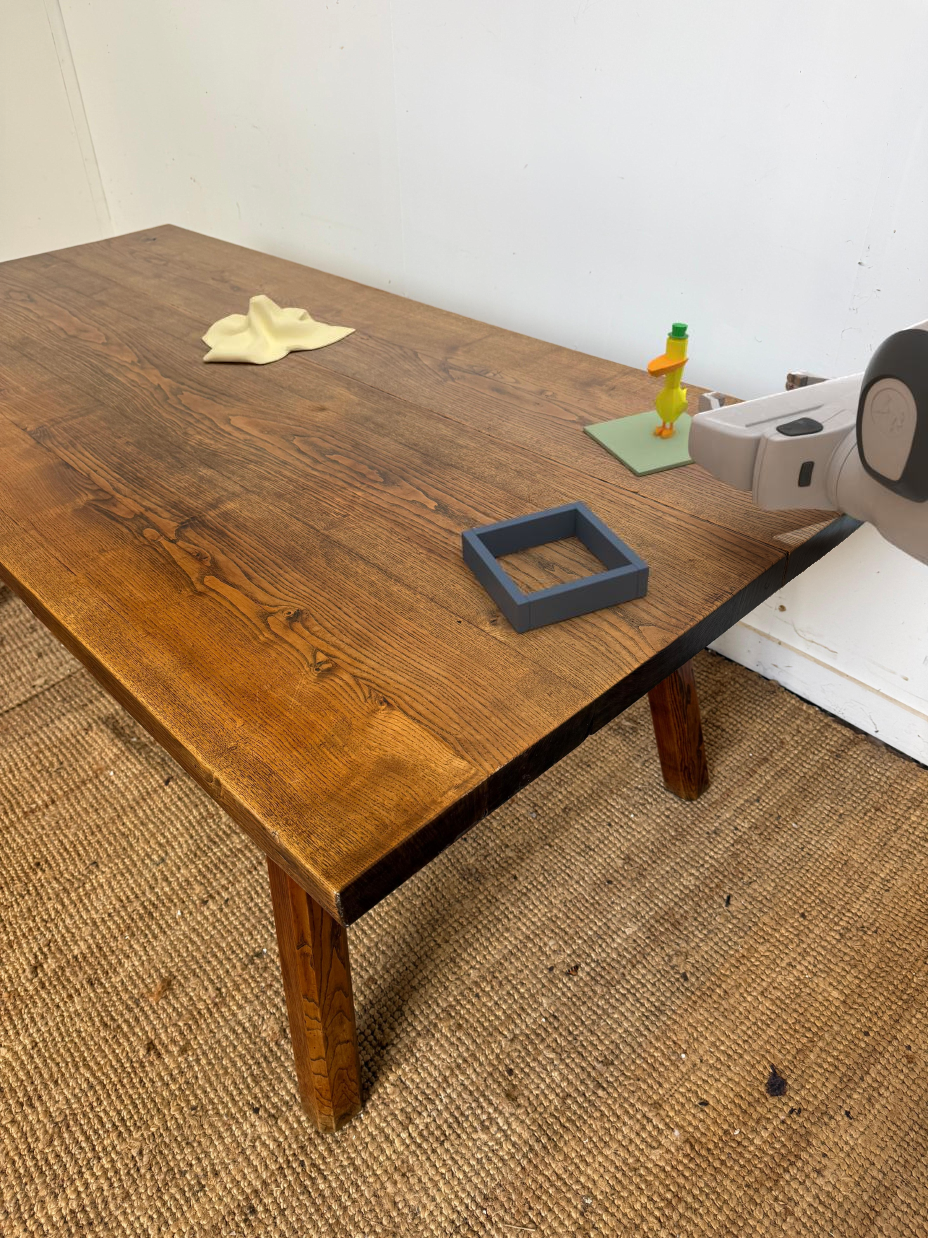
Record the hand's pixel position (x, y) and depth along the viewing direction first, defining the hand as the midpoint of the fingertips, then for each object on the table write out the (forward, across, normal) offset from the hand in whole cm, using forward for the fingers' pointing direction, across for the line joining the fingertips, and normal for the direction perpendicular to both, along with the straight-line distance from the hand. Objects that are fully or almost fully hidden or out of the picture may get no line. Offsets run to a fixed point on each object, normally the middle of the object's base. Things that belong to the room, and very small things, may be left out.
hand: (749, 389), depth 80 cm
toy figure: (+14, 0, +10) cm, 17 cm away
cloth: (+66, +32, +10) cm, 74 cm away
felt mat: (+13, 0, +11) cm, 17 cm away
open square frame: (-5, +22, +11) cm, 25 cm away
